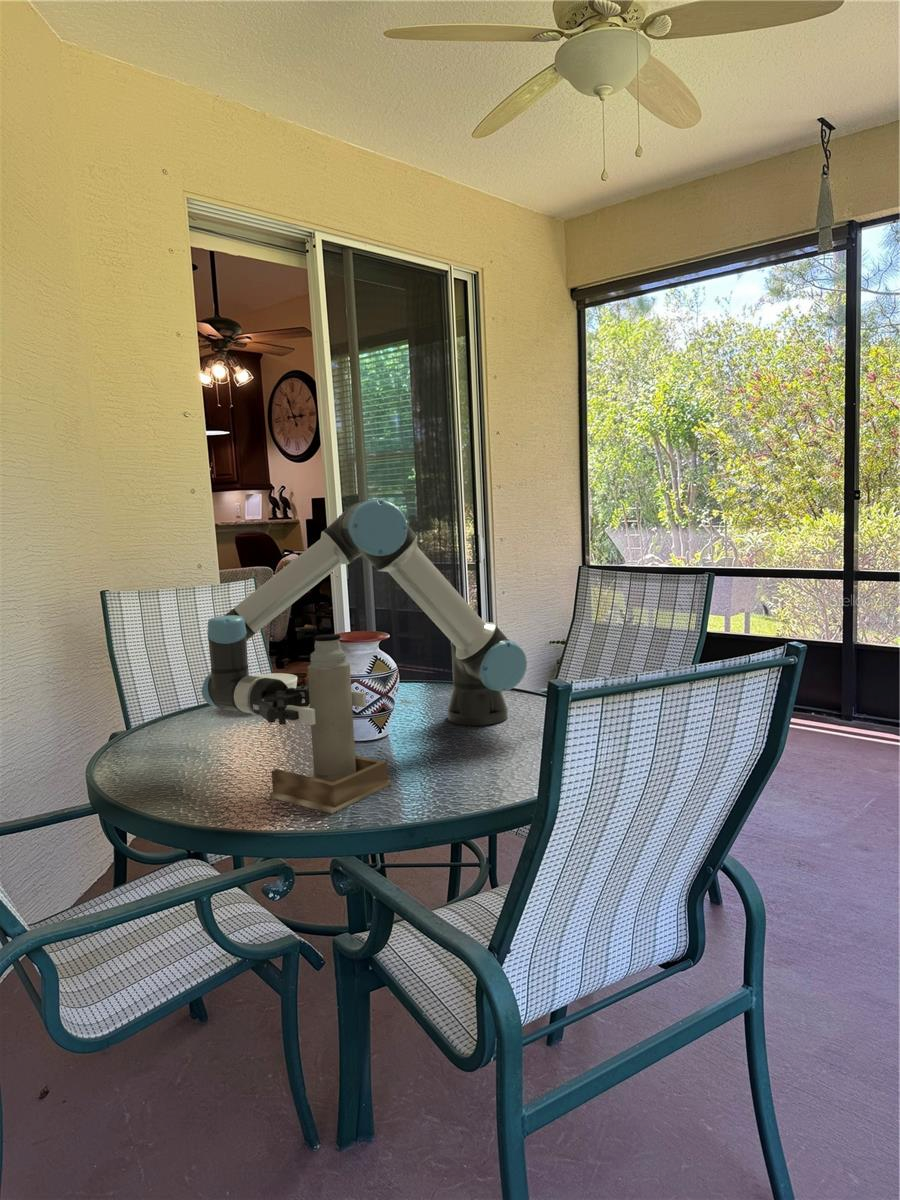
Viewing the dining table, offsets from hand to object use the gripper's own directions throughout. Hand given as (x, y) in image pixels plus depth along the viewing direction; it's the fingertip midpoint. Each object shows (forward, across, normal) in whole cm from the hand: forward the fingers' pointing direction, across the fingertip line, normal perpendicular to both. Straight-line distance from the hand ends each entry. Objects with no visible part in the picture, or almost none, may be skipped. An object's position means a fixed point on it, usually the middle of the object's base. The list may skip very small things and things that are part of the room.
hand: (340, 708), depth 138 cm
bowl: (-69, -41, -17) cm, 82 cm away
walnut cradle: (-4, 0, -16) cm, 17 cm away
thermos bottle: (-4, -2, -15) cm, 16 cm away
